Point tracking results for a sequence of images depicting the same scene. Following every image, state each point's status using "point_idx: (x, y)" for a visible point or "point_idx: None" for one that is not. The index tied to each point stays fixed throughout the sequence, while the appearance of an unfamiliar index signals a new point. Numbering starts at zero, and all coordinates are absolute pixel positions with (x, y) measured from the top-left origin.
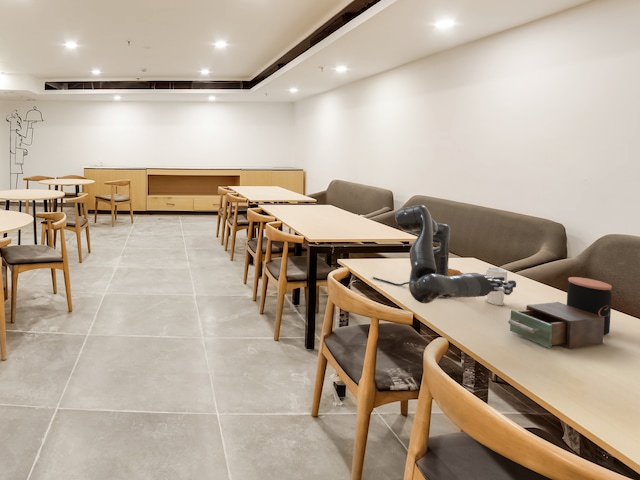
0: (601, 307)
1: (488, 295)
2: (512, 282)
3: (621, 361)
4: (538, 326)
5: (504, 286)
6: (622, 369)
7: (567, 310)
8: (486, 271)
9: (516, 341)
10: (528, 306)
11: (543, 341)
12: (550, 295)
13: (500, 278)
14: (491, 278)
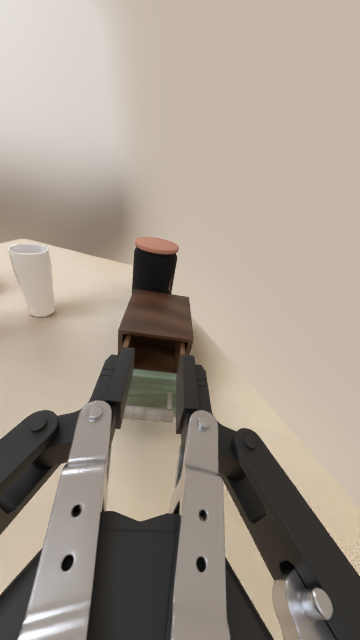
0: (171, 278)
1: (29, 304)
2: (195, 377)
3: (218, 356)
4: (168, 388)
5: (327, 616)
6: (238, 378)
7: (159, 305)
8: (10, 257)
9: (136, 440)
10: (122, 331)
11: (174, 407)
12: (87, 262)
13: (129, 370)
14: (107, 449)
